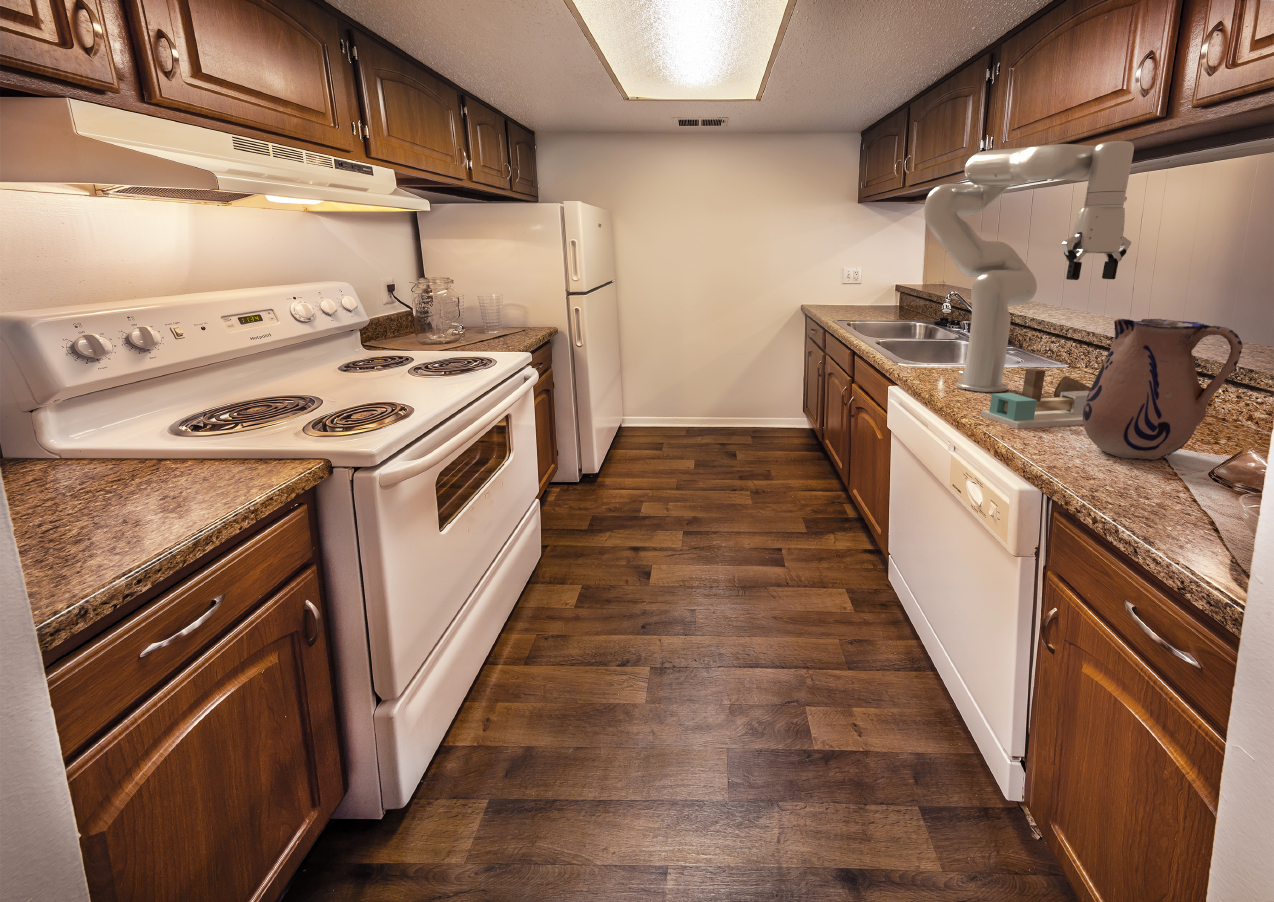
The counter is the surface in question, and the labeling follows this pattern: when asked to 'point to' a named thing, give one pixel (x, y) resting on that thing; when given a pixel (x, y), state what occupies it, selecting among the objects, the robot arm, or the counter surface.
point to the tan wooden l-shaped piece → (1034, 391)
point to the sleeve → (1075, 401)
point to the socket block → (1013, 406)
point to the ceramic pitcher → (1152, 388)
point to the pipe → (1069, 386)
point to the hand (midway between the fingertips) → (1090, 279)
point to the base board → (1039, 419)
